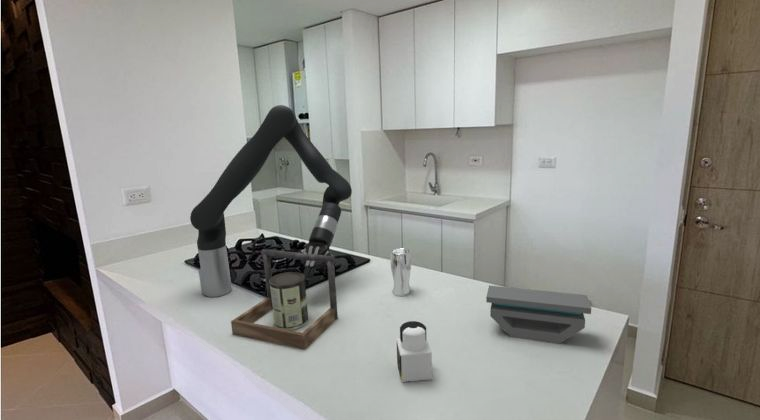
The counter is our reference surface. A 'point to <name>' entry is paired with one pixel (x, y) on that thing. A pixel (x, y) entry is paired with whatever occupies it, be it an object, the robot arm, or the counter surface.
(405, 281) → the beer glass
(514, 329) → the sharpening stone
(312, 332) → the frame
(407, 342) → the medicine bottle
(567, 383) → the counter surface
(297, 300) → the coffee can
